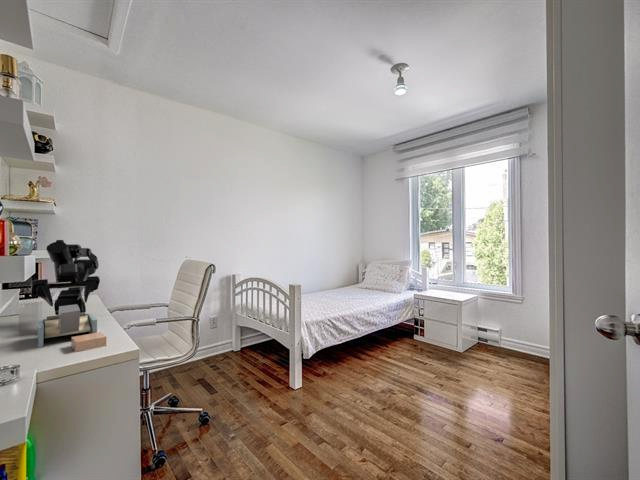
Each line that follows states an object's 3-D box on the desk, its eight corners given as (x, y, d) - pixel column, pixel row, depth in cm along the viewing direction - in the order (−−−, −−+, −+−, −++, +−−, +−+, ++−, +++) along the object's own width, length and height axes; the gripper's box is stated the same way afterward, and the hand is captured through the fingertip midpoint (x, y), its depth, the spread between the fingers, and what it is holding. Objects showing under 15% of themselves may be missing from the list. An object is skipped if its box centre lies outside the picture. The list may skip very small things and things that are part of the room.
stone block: (71, 346, 98) (71, 337, 98) (100, 340, 104) (100, 331, 104) (75, 351, 93) (75, 342, 93) (106, 345, 99) (106, 336, 99)
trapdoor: (43, 321, 107) (44, 317, 107) (86, 315, 116) (87, 311, 116) (44, 339, 99) (44, 334, 99) (90, 332, 108) (91, 327, 107)
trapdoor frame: (37, 337, 107) (38, 319, 108) (90, 329, 118) (91, 313, 118) (38, 347, 97) (38, 327, 97) (96, 337, 107) (97, 319, 108)
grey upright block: (58, 326, 104) (59, 306, 103) (76, 323, 108) (77, 304, 106) (60, 334, 101) (61, 313, 100) (78, 330, 105) (80, 310, 103)
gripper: (32, 256, 101) (34, 292, 93) (99, 255, 115) (106, 286, 107) (29, 277, 106) (31, 313, 98) (94, 274, 120) (100, 305, 112)
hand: (69, 303), depth 104 cm, fingers open, 9 cm apart
